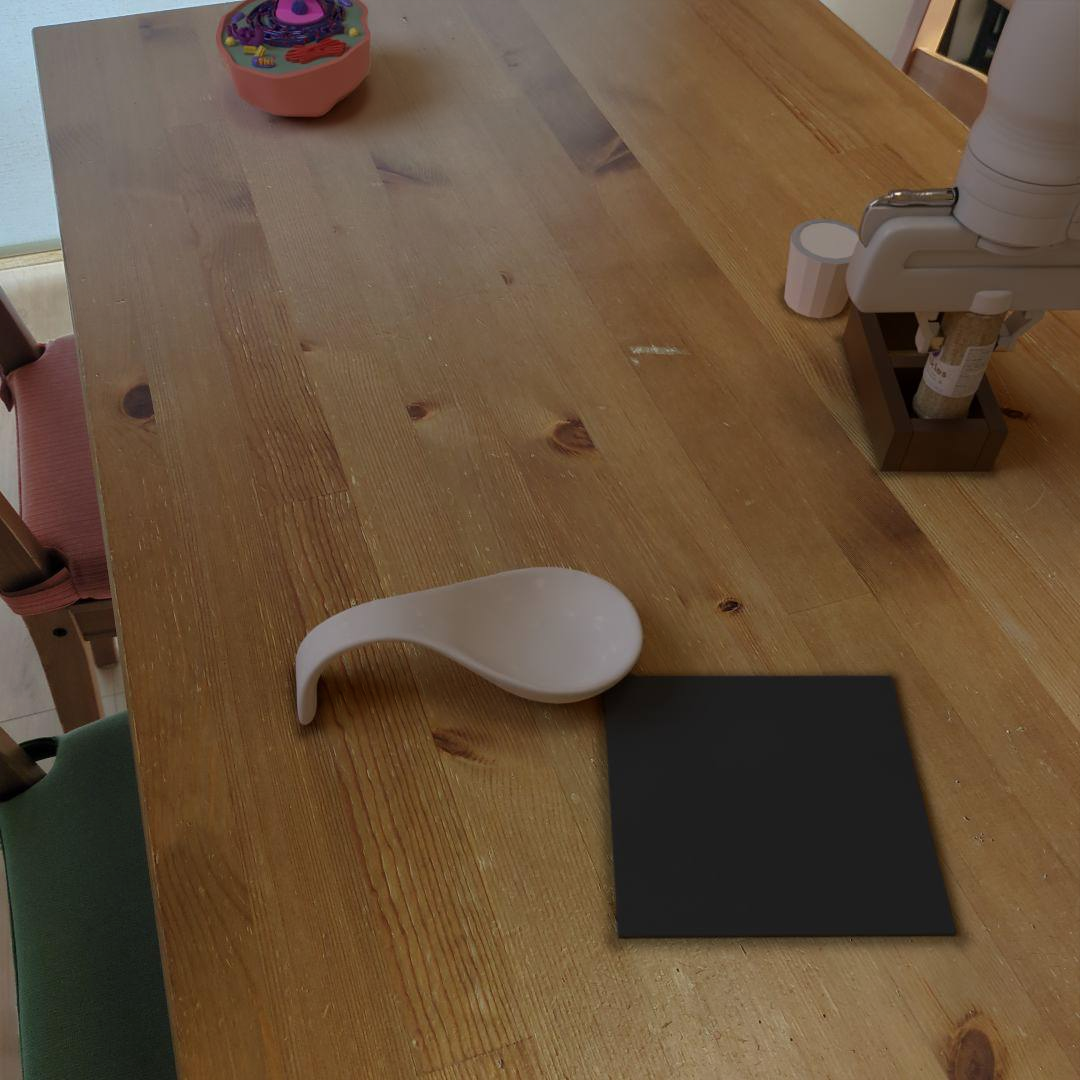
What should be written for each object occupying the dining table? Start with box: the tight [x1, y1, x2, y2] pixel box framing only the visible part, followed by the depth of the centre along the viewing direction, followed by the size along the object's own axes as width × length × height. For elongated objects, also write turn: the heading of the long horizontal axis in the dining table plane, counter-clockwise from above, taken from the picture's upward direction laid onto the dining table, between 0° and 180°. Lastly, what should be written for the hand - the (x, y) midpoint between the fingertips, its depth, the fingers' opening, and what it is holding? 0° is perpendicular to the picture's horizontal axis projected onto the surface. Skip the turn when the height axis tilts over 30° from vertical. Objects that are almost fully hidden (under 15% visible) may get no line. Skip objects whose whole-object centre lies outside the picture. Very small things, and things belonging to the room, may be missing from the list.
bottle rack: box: [841, 302, 1010, 473], centre depth 94 cm, size 9×16×5 cm, turn 1°
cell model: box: [215, 0, 372, 118], centre depth 122 cm, size 17×20×11 cm
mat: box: [603, 675, 958, 939], centre depth 71 cm, size 20×18×1 cm
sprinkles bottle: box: [912, 291, 1014, 419], centre depth 86 cm, size 5×5×14 cm
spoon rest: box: [295, 566, 644, 726], centre depth 74 cm, size 24×12×7 cm, turn 102°
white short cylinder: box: [784, 218, 859, 319], centre depth 102 cm, size 7×7×7 cm
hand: (963, 347), depth 86 cm, fingers closed on sprinkles bottle, 4 cm apart
